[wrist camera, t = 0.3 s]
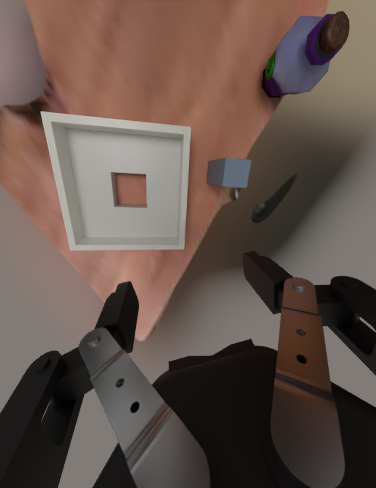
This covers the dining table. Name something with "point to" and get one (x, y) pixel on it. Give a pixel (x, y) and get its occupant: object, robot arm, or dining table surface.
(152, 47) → the dining table surface
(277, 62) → the potion bottle
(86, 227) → the walled box
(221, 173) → the peg
